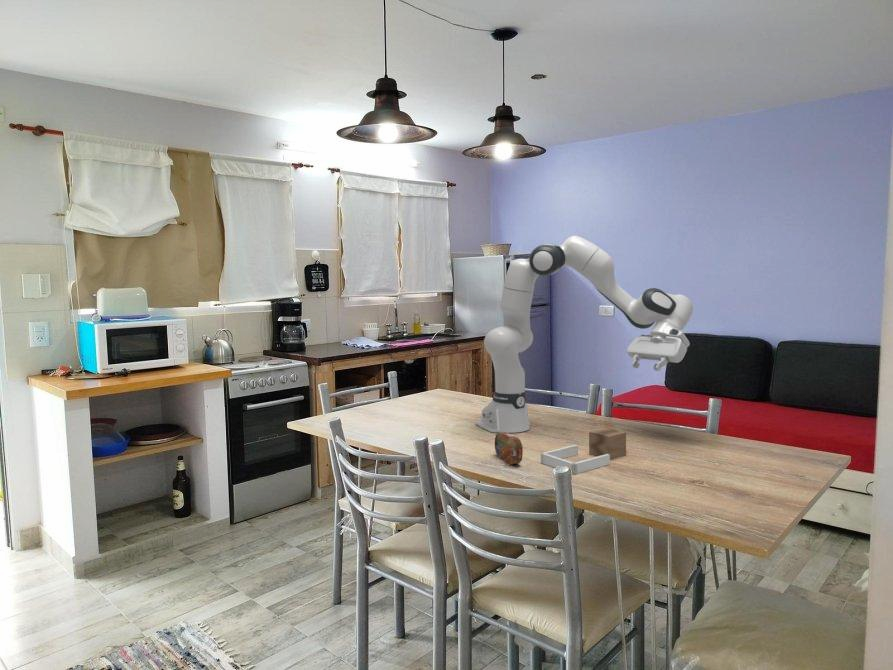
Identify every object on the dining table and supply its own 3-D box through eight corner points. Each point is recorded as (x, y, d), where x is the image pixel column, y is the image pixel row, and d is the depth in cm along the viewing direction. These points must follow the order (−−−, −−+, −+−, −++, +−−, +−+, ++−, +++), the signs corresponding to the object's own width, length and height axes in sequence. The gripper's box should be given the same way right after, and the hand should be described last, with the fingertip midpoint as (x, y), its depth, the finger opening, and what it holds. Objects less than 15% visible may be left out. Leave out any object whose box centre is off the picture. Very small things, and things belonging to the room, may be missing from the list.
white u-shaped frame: (540, 462, 184) (540, 453, 183) (575, 453, 192) (575, 444, 192) (574, 474, 172) (574, 464, 172) (609, 464, 180) (609, 454, 180)
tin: (493, 455, 193) (493, 429, 193) (502, 453, 194) (502, 428, 194) (515, 468, 179) (514, 440, 178) (524, 466, 180) (524, 439, 180)
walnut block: (589, 454, 191) (589, 431, 190) (606, 450, 195) (606, 427, 195) (608, 460, 184) (608, 436, 184) (626, 455, 189) (626, 432, 188)
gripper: (634, 328, 209) (615, 359, 205) (686, 331, 192) (666, 365, 188) (642, 340, 212) (624, 370, 208) (694, 344, 195) (675, 377, 191)
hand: (645, 368), depth 197 cm, fingers open, 7 cm apart
